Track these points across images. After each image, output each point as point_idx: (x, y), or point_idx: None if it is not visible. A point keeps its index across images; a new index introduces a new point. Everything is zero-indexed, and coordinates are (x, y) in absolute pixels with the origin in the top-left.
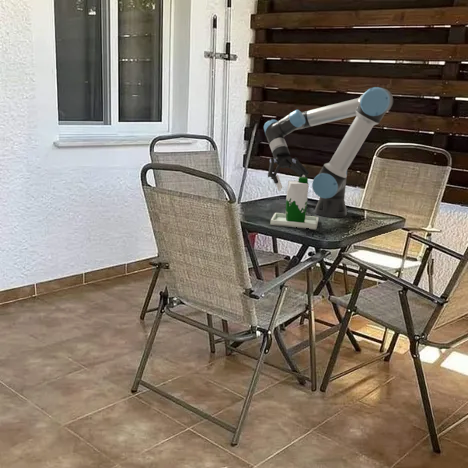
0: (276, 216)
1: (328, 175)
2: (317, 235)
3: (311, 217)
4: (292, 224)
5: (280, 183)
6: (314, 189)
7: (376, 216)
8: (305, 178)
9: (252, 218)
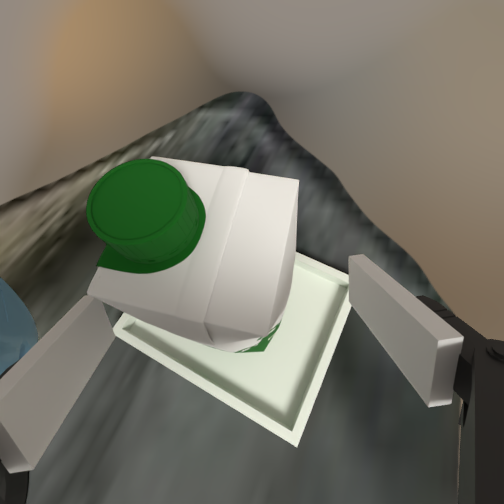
0: (289, 427)
1: None
2: (232, 155)
3: (142, 340)
4: None
5: (373, 273)
6: (26, 340)
7: None
8: (140, 159)
9: (419, 423)
